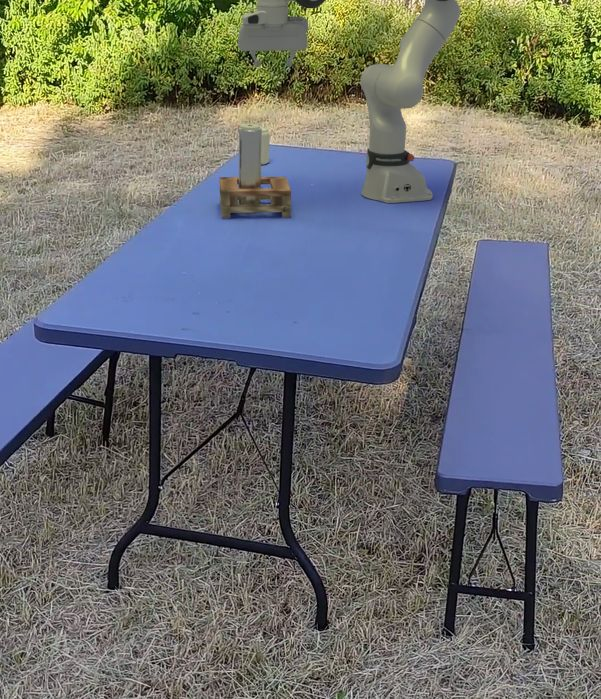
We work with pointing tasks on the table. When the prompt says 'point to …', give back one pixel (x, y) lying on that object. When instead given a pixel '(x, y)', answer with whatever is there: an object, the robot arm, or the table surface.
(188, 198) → the table surface
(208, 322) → the table surface
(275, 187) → the frame
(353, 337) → the table surface
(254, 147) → the silver metal cylinder
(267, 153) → the beverage can
